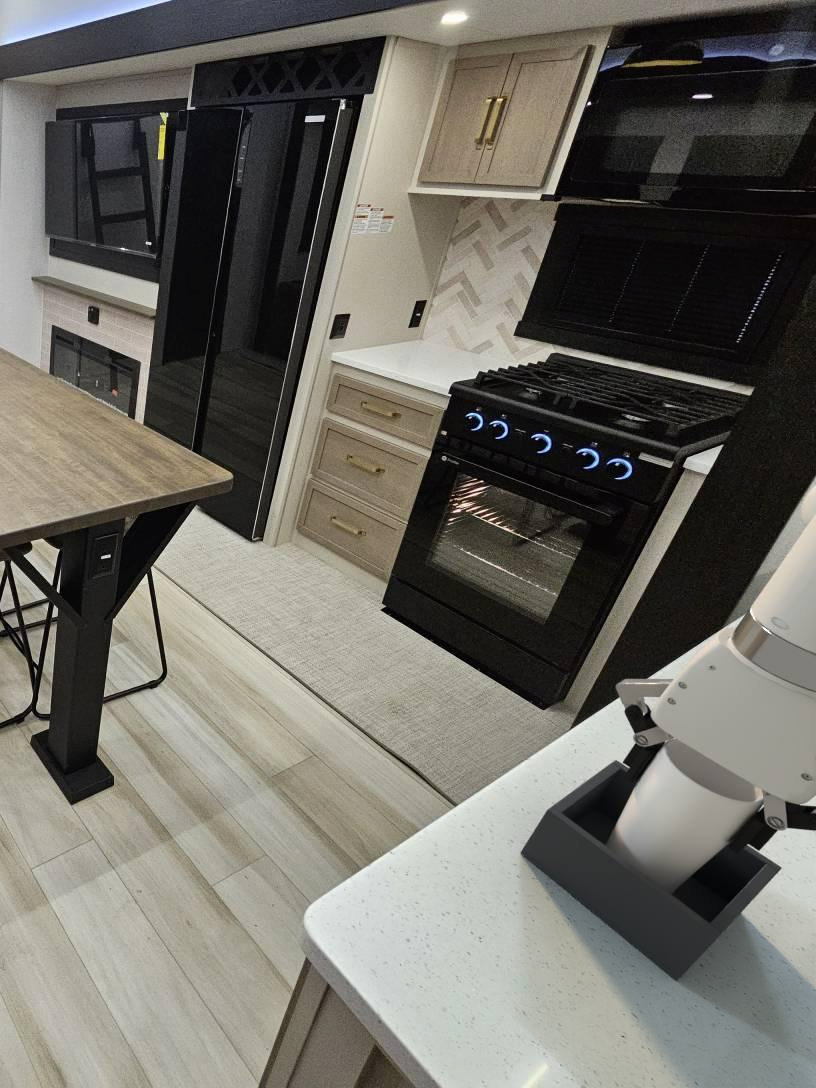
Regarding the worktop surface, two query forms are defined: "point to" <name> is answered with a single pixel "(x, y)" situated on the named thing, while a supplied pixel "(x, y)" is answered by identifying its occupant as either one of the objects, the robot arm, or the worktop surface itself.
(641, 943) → the bin
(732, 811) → the white cup
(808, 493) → the robot arm
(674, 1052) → the worktop surface
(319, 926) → the worktop surface
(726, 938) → the worktop surface
